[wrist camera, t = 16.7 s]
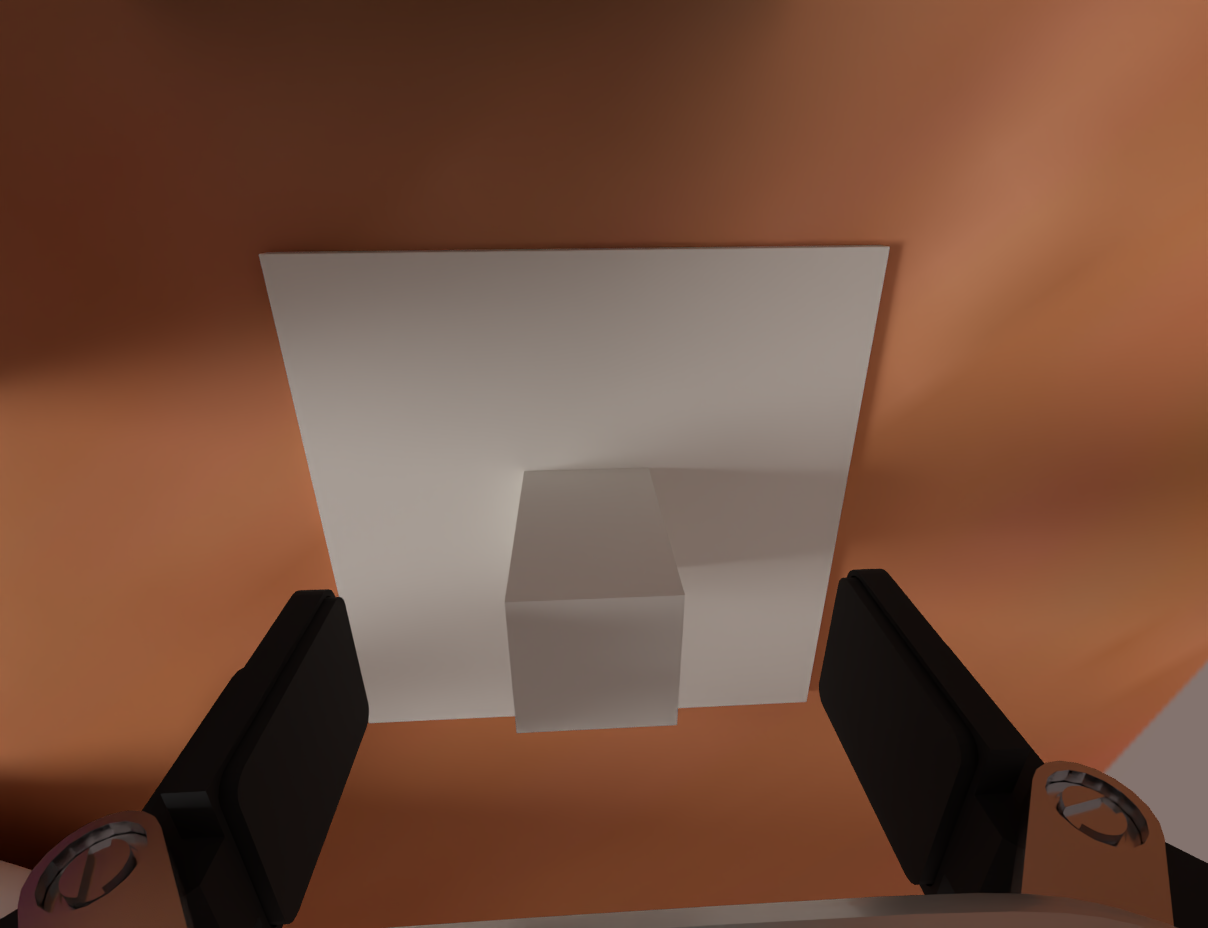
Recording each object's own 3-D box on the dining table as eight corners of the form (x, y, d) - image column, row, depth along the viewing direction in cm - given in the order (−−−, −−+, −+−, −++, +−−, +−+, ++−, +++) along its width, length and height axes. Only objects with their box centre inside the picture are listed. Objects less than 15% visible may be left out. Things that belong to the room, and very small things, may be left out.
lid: (378, 696, 19) (300, 910, 13) (280, 249, 13) (74, 296, 8) (794, 677, 19) (885, 873, 14) (868, 242, 14) (1067, 281, 8)
